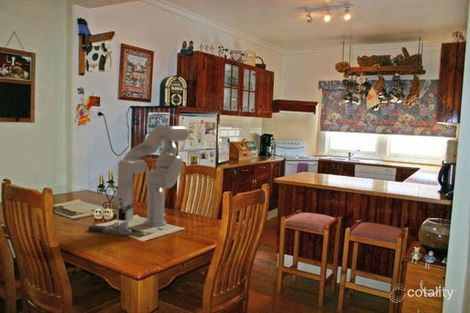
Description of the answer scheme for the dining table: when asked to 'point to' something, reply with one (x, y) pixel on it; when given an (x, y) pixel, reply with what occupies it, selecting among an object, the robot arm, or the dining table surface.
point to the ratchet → (112, 229)
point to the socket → (126, 214)
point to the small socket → (117, 225)
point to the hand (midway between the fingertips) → (125, 217)
